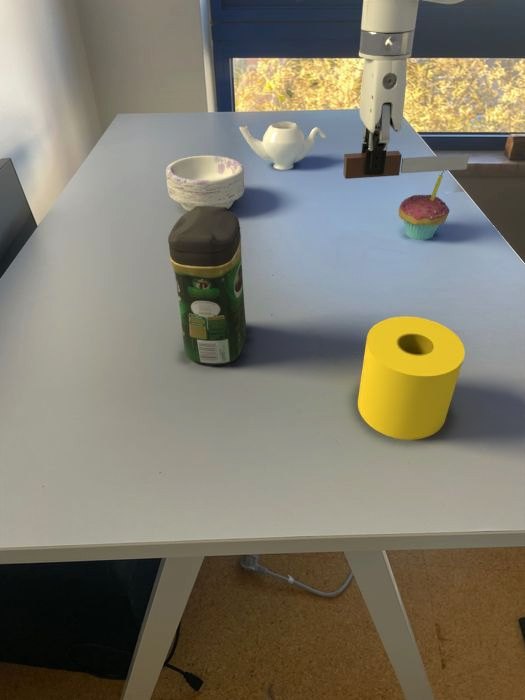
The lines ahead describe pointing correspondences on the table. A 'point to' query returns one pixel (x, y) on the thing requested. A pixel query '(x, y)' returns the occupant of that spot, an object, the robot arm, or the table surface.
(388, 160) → the knife
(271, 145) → the teapot
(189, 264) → the coffee jar
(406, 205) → the cupcake
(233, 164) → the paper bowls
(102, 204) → the table surface
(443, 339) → the tape roll
